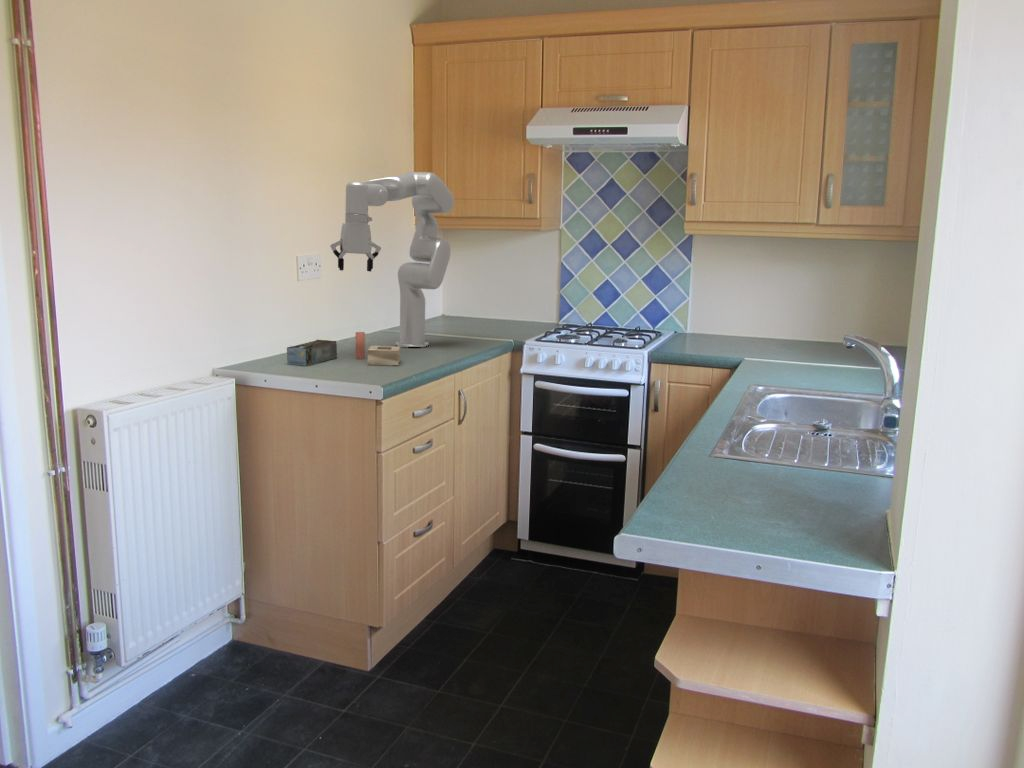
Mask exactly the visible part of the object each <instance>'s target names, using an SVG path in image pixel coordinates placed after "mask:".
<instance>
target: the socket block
mask: <svg viewBox="0 0 1024 768" xmlns="http://www.w3.org/2000/svg"><path fill="white" fill-rule="evenodd" d="M399 362H400V363H401V347H400V346H396V345H395V346H393V345H389V346H388V345H370V346H369V347H368V349H367V366H381V365H398V366H399V365H400V363H399Z"/></svg>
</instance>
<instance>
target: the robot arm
mask: <svg viewBox="0 0 1024 768" xmlns="http://www.w3.org/2000/svg"><path fill="white" fill-rule="evenodd" d="M408 198H411V205H412V208H413V212H414V214H415V217H416V228H415V231H414V234H413V237H412V241H411V243H410V247H409V257H410V259H412V260H413V261H415V262H411V261H410V262H405V263H402V264H401V265H400V266H399V268H398V271H397V281H398V286H399V287H398V288H399V297H400V298H399V302H400V303H399V340H398V341H397V340H396V341H395V346H396V345H397V346H400V348H408V347H421V348H426V346H427V347H429V346H428V345H429V342H427V341H425V340H426V339H425V338H426V336H425V335H426V334H425V333H426V330H425V329H426V298H425V294H424V292H423V290H436V289H439V288H440V286H441V285H442V283H443V281H444V278H445V275H446V271H447V268H448V266H449V265H448V264H449V261H450V257H451V245H450V243H449V241H448V240H447V239H446V238H443V237H438V234H439V232H440V231H439V229H440V228H439V223H438V221H437V219H436V218H435V215H434V214H448V213H450V212H452V210H453V208H454V206H455V198H454V195H453V193H452V192H451V190H450V189H449V187H447V185H446V184H445V183H444V182H443V180H442V179H441V178H440V177H439V176H438V175H437V174H435V172H427V171H413V172H412V171H409V172H407V173H402V174H398V175H394V176H388V177H382V178H377V179H370V180H369V179H368V180H364V181H359V182H358V181H357V182H356V181H353V182H351V181H350V182H348V183H347V184H346V186H345V216H344V217H345V220H344V223H342V225H341V231H340V240H338V241H336V242H333V243H331V244H330V249H331V250H332V252H333V254H334V255H335V256H336V258H337V268H338V270H339V271H341V272H342V271H344V267H345V266H344V265H345V263H344V262H345V259H344V256H345V255H346V254H360V255H361V254H363V255H366V256H367V260H366V271H367V272H369V273H370V272H372V270H373V268H374V260H375V258H376V257H378V256H379V253H380V252H381V250H382V247H381V246H380V245H378V244H376V243H374V242H373V241H372V233H371V225H370V224H368V223H369V222H372V220H373V218H372V217H370V216H369V207H381V206H384V205H385V204H386V203H387V202H396V201H401V200H404V199H408ZM338 246H339V250H340V252H339V251H338V250H337V247H338ZM372 248H374V249H375V250H374V251H373V253H372Z"/></svg>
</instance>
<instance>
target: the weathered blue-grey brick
mask: <svg viewBox="0 0 1024 768" xmlns="http://www.w3.org/2000/svg"><path fill="white" fill-rule="evenodd" d="M337 350H338V347H337V341H336V340H328V339H316V340H313V341H309V342H305V343H300V344H297V345H291V346H287V347H286V361H287V365H290V364H295V365H294V366H299V365H303V366H302V367H309V366H312V365H311V364H313V365H316V364H315V363H317V364H320V362H321V363H323V362H327V361H331V360H334V359H337V358H338V352H337ZM308 365H309V366H308Z"/></svg>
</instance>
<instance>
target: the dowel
mask: <svg viewBox="0 0 1024 768" xmlns="http://www.w3.org/2000/svg"><path fill="white" fill-rule="evenodd" d="M356 358H357V359H356ZM364 358H365V359H366V332H364V331H355V359H356V360H364Z"/></svg>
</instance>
